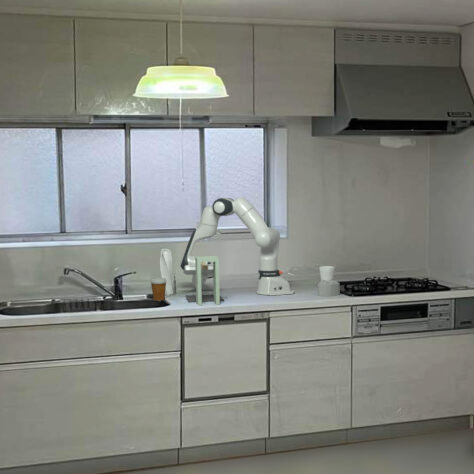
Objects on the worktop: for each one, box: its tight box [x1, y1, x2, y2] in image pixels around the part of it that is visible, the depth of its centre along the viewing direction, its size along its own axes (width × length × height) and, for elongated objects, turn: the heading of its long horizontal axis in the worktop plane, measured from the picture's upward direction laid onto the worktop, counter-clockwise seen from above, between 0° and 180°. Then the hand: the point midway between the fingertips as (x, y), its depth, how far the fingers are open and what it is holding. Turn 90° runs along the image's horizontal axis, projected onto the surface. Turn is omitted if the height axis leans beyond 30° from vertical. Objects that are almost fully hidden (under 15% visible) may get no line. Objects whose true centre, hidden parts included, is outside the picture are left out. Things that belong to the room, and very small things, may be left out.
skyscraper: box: [159, 248, 178, 297], centre depth 435 cm, size 8×8×28 cm
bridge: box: [195, 255, 221, 306], centre depth 402 cm, size 12×10×26 cm
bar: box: [201, 262, 208, 270], centre depth 418 cm, size 19×2×2 cm, turn 9°
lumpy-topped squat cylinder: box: [317, 279, 341, 297], centre depth 426 cm, size 10×13×9 cm
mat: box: [185, 293, 225, 303], centre depth 420 cm, size 20×21×1 cm
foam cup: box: [318, 265, 336, 282], centre depth 453 cm, size 10×9×13 cm
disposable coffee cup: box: [149, 277, 167, 301], centre depth 419 cm, size 10×10×12 cm
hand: (202, 264), depth 424 cm, fingers closed on bar, 2 cm apart
